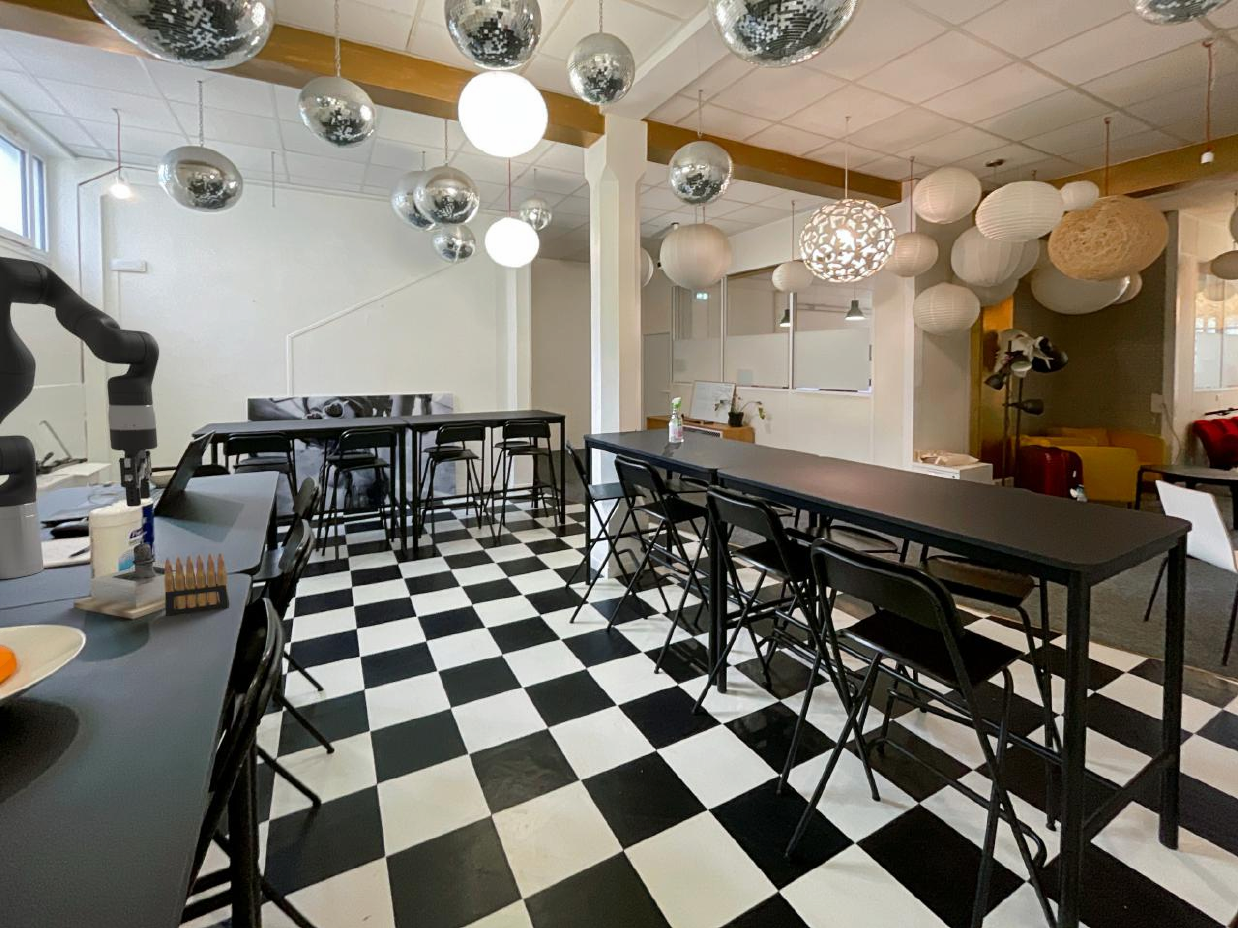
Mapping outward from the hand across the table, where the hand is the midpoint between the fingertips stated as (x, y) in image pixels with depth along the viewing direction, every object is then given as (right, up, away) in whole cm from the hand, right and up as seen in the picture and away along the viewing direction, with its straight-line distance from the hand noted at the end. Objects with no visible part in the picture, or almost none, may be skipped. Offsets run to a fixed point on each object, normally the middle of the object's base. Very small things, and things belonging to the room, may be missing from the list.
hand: (139, 502), depth 122 cm
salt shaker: (-1, -20, +3) cm, 21 cm away
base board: (-1, -21, +3) cm, 22 cm away
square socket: (-1, -20, +3) cm, 20 cm away
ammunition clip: (+14, -23, -2) cm, 27 cm away
